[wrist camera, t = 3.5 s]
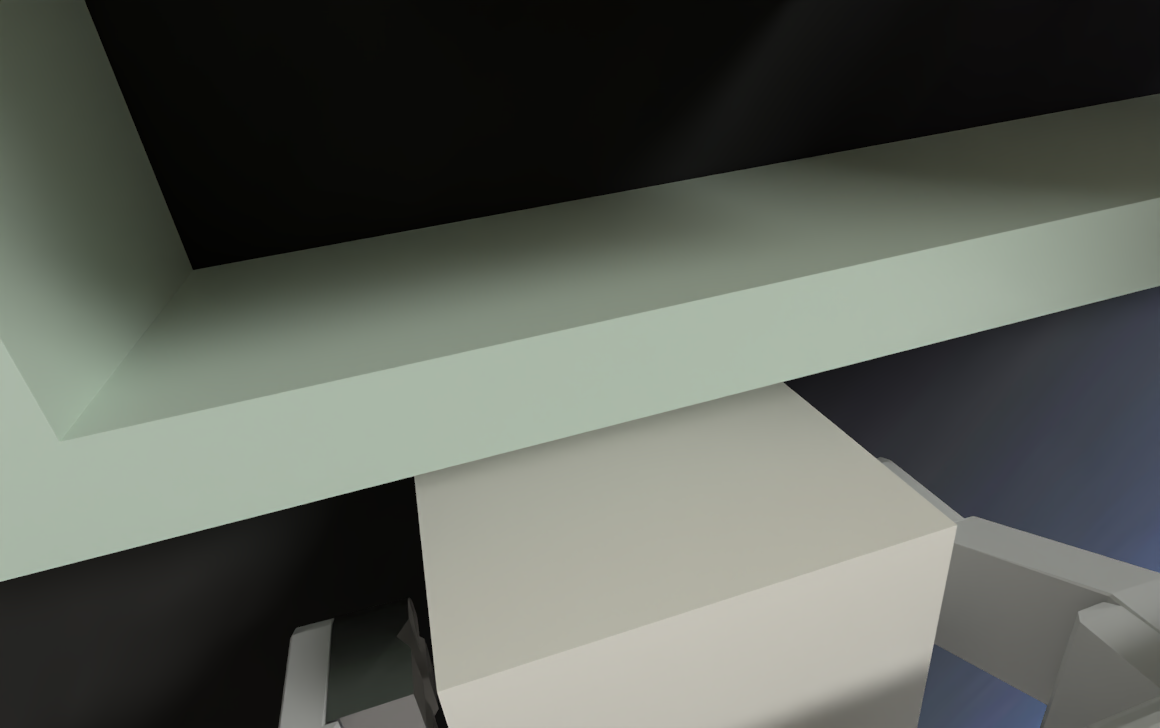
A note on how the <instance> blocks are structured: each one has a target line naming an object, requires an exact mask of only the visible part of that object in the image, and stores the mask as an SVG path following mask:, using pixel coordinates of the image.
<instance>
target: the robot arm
mask: <svg viewBox="0 0 1160 728" xmlns="http://www.w3.org/2000/svg"><path fill="white" fill-rule="evenodd" d="M876 459H877V460H879V461H880V462H881V463H882V464H884V465H885V466H886V467H887V468H888V469H890V470H891V471H892V472H893V473H895V474H896V475H897V476H898V477H899V478H901V479H902V480H903V481H904V482H906V483H907V484H908V485H909V486H910V487H912V488H913V489H914V490H915V491H917V492H918V493H919V494H920V495H921V496H923V497H924V498H925V499H926V500H928V501H929V502H930V503H931V504H932V505H934V506H935V507H936V508H937V509H939V510H940V511H941V512H942V513H943V514H945V515H946V516H947V517H948V518H949V519H951V520H952V521H953V522H954V523H956V524H957V530H956V535H955V540H954V545H953V550H952V555H951V560H950V565H949V570H948V575H947V580H946V585H945V590H944V595H943V600H942V605H941V610H940V615H939V620H938V625H937V630H936V635H935V640H934V644H936V645H938V646H940V647H942V648H943V649H945V650H947V651H949V652H951V653H953V654H954V655H956V656H958V657H960V658H962V659H964V660H965V661H967V662H969V663H971V664H973V665H975V666H977V667H978V668H980V669H982V670H984V671H986V672H988V673H989V674H991V675H993V676H995V677H997V678H999V679H1000V680H1002V681H1004V682H1006V683H1008V684H1010V685H1011V686H1013V687H1015V688H1017V689H1019V690H1021V691H1023V692H1024V693H1026V694H1028V695H1030V696H1032V697H1034V698H1035V699H1037V700H1039V701H1041V702H1043V703H1045V704H1046V705H1047V708H1046V711H1045V714H1044V717H1043V720H1042V723H1041V726H1040V728H1160V573H1158V572H1154V571H1151V570H1148V569H1145V568H1141V567H1138V566H1135V565H1131V564H1128V563H1125V562H1122V561H1118V560H1115V559H1112V558H1109V557H1105V556H1102V555H1099V554H1096V553H1092V552H1089V551H1086V550H1082V549H1079V548H1076V547H1073V546H1069V545H1066V544H1063V543H1060V542H1056V541H1053V540H1050V539H1047V538H1043V537H1040V536H1037V535H1034V534H1030V533H1027V532H1024V531H1020V530H1017V529H1014V528H1011V527H1007V526H1004V525H1001V524H998V523H994V522H991V521H988V520H985V519H981V518H978V517H975V516H972V517H968V518H965V519H964V518H963V517H962V516H960V515H959V514H958V513H956V512H955V511H954V510H953V509H951V508H950V507H949V506H948V505H946V504H945V503H944V502H943V501H941V500H940V499H939V498H937V497H936V496H935V495H934V494H932V493H931V492H930V491H929V490H927V489H926V488H925V487H924V486H922V485H921V484H920V483H919V482H917V481H916V480H915V479H913V478H912V477H911V476H910V475H908V474H907V473H906V472H905V471H903V470H902V469H901V468H900V467H898V466H897V465H896V464H894V463H893V462H892V461H891V460H889V459H885V458H882V457H879V458H876ZM438 709H439V707H438V699H437V690H436V684H435V679H434V673H433V667H432V663H431V659H430V655H429V651H428V648H427V645H426V642H425V639H424V638H422V637H420V636H419V628H418V617H417V614H416V611H415V608H414V605H413V603H412V600H411V599H410V598H409V597H407V598H403V599H399V600H395V601H392V602H388V603H384V604H381V605H377V606H373V607H369V608H366V609H362V610H358V611H354V612H351V613H347V614H343V615H339V616H336V617H335V618H332V619H328V620H324V621H321V622H317V623H313V624H309V625H305V626H301V627H297V628H296V629H295V631H294V632H293V634H292V636H291V638H290V645H289V652H288V660H287V667H286V674H285V682H284V689H283V697H282V704H281V712H280V719H279V727H278V728H438V725H437V722H436V719H435V715H436V713H437V711H438Z"/></svg>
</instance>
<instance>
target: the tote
mask: <svg viewBox="0 0 1160 728" xmlns="http://www.w3.org/2000/svg"><path fill="white" fill-rule="evenodd" d="M1157 286H1160V94H1154V95H1149V96H1143V97H1138V98H1132V99H1127V100H1121V101H1116V102H1110V103H1105V104H1099V105H1094V106H1088V107H1083V108H1077V109H1072V110H1066V111H1061V112H1056V113H1050V114H1045V115H1039V116H1034V117H1028V118H1023V119H1017V120H1012V121H1006V122H1001V123H995V124H990V125H984V126H979V127H973V128H968V129H962V130H957V131H951V132H946V133H941V134H935V135H930V136H924V137H919V138H913V139H908V140H902V141H897V142H891V143H886V144H880V145H875V146H869V147H864V148H858V149H853V150H847V151H842V152H836V153H831V154H826V155H820V156H815V157H809V158H804V159H798V160H793V161H787V162H782V163H776V164H771V165H765V166H760V167H754V168H749V169H743V170H738V171H732V172H727V173H722V174H716V175H711V176H705V177H700V178H694V179H689V180H683V181H678V182H672V183H667V184H661V185H656V186H650V187H645V188H639V189H634V190H628V191H623V192H617V193H612V194H607V195H601V196H596V197H590V198H585V199H579V200H574V201H568V202H563V203H557V204H552V205H546V206H541V207H535V208H530V209H524V210H519V211H513V212H508V213H502V214H497V215H492V216H486V217H481V218H475V219H470V220H464V221H459V222H453V223H448V224H442V225H437V226H431V227H426V228H420V229H415V230H409V231H404V232H398V233H393V234H387V235H382V236H377V237H371V238H366V239H360V240H355V241H349V242H344V243H338V244H333V245H327V246H322V247H316V248H311V249H305V250H300V251H294V252H289V253H283V254H278V255H272V256H267V257H262V258H256V259H251V260H245V261H240V262H234V263H229V264H223V265H218V266H212V267H207V268H201V269H196V270H193V269H192V266H191V264H190V261H189V259H188V256H187V254H186V251H185V249H184V246H183V244H182V241H181V239H180V236H179V234H178V231H177V229H176V226H175V224H174V221H173V219H172V216H171V214H170V211H169V209H168V206H167V204H166V201H165V199H164V197H163V194H162V192H161V189H160V187H159V184H158V182H157V179H156V177H155V174H154V172H153V169H152V167H151V164H150V162H149V159H148V157H147V154H146V152H145V149H144V147H143V144H142V142H141V139H140V137H139V134H138V132H137V129H136V127H135V124H134V122H133V119H132V117H131V115H130V112H129V110H128V107H127V105H126V102H125V100H124V97H123V95H122V92H121V90H120V87H119V85H118V82H117V80H116V77H115V75H114V72H113V70H112V67H111V65H110V62H109V60H108V57H107V55H106V52H105V50H104V47H103V45H102V42H101V40H100V38H99V35H98V33H97V30H96V28H95V25H94V23H93V20H92V18H91V15H90V13H89V10H88V8H87V5H86V3H85V0H0V582H1V581H5V580H9V579H13V578H17V577H21V576H25V575H28V574H32V573H36V572H40V571H44V570H48V569H52V568H56V567H60V566H64V565H68V564H72V563H75V562H79V561H83V560H87V559H91V558H95V557H99V556H103V555H107V554H111V553H115V552H119V551H122V550H126V549H130V548H134V547H138V546H142V545H146V544H150V543H154V542H158V541H162V540H166V539H169V538H173V537H177V536H181V535H185V534H189V533H193V532H197V531H201V530H205V529H209V528H213V527H216V526H220V525H224V524H228V523H232V522H236V521H240V520H244V519H248V518H252V517H256V516H260V515H263V514H267V513H271V512H275V511H279V510H283V509H287V508H291V507H295V506H299V505H303V504H307V503H310V502H314V501H318V500H322V499H326V498H330V497H334V496H338V495H342V494H346V493H350V492H354V491H357V490H361V489H365V488H369V487H373V486H377V485H381V484H385V483H389V482H393V481H397V480H401V479H404V478H408V477H412V476H416V475H420V474H424V473H428V472H432V471H436V470H440V469H444V468H448V467H451V466H455V465H459V464H463V463H467V462H471V461H475V460H479V459H483V458H487V457H491V456H495V455H498V454H502V453H506V452H510V451H514V450H518V449H522V448H526V447H530V446H534V445H538V444H542V443H545V442H549V441H553V440H557V439H561V438H565V437H569V436H573V435H577V434H581V433H585V432H589V431H592V430H596V429H600V428H604V427H608V426H612V425H616V424H620V423H624V422H628V421H632V420H636V419H639V418H643V417H647V416H651V415H655V414H659V413H663V412H667V411H671V410H675V409H679V408H683V407H686V406H690V405H694V404H698V403H702V402H706V401H710V400H714V399H718V398H722V397H726V396H730V395H733V394H737V393H741V392H745V391H749V390H753V389H757V388H761V387H765V386H769V385H773V384H777V383H781V382H784V381H788V380H792V379H796V378H800V377H804V376H808V375H812V374H816V373H820V372H824V371H828V370H831V369H835V368H839V367H843V366H847V365H851V364H855V363H859V362H863V361H867V360H871V359H875V358H878V357H882V356H886V355H890V354H894V353H898V352H902V351H906V350H910V349H914V348H918V347H922V346H925V345H929V344H933V343H937V342H941V341H945V340H949V339H953V338H957V337H961V336H965V335H969V334H972V333H976V332H980V331H984V330H988V329H992V328H996V327H1000V326H1004V325H1008V324H1012V323H1016V322H1019V321H1023V320H1027V319H1031V318H1035V317H1039V316H1043V315H1047V314H1051V313H1055V312H1059V311H1063V310H1066V309H1070V308H1074V307H1078V306H1082V305H1086V304H1090V303H1094V302H1098V301H1102V300H1106V299H1110V298H1113V297H1117V296H1121V295H1125V294H1129V293H1133V292H1137V291H1141V290H1145V289H1149V288H1153V287H1157Z"/></svg>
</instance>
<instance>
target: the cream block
mask: <svg viewBox="0 0 1160 728" xmlns="http://www.w3.org/2000/svg"><path fill="white" fill-rule="evenodd" d="M414 479H415V488H416V498H417V507H418V517H419V526H420V536H421V545H422V555H423V564H424V574H425V583H426V593H427V602H428V612H429V621H430V631H431V640H432V650H433V659H434V668H435V678H436V687H437V694H438V697H439V700H440V703H441V706H442V709H443V712H444V715H445V719H446V722H447V725H448V728H917V725H918V720H919V715H920V710H921V705H922V700H923V695H924V690H925V685H926V680H927V675H928V670H929V665H930V660H931V655H932V650H933V645H934V640H935V635H936V630H937V625H938V620H939V615H940V610H941V605H942V600H943V595H944V590H945V585H946V580H947V575H948V570H949V565H950V560H951V555H952V550H953V545H954V540H955V535H956V530H957V524H956V523H954V522H953V521H952V520H951V519H949V518H948V517H947V516H946V515H945V514H943V513H942V512H941V511H940V510H939V509H937V508H936V507H935V506H934V505H932V504H931V503H930V502H929V501H928V500H926V499H925V498H924V497H923V496H921V495H920V494H919V493H918V492H917V491H915V490H914V489H913V488H912V487H910V486H909V485H908V484H907V483H906V482H904V481H903V480H902V479H901V478H899V477H898V476H897V475H896V474H895V473H893V472H892V471H891V470H890V469H888V468H887V467H886V466H885V465H884V464H882V463H881V462H880V461H879V460H877V459H876V458H875V457H874V456H873V455H871V454H870V453H869V452H868V451H866V450H865V449H864V448H863V447H862V446H860V445H859V444H858V443H857V442H855V441H854V440H853V439H852V438H851V437H849V436H848V435H847V434H846V433H844V432H843V431H842V430H841V429H840V428H838V427H837V426H836V425H835V424H833V423H832V422H831V421H830V420H829V419H827V418H826V417H825V416H824V415H822V414H821V413H820V412H819V411H818V410H816V409H815V408H814V407H813V406H812V405H810V404H809V403H808V402H807V401H805V400H804V399H803V398H802V397H801V396H799V395H798V394H797V393H796V392H794V391H793V390H792V389H791V388H790V387H788V386H787V385H786V384H785V383H783V382H781V383H777V384H773V385H769V386H765V387H761V388H757V389H753V390H749V391H745V392H741V393H737V394H733V395H730V396H726V397H722V398H718V399H714V400H710V401H706V402H702V403H698V404H694V405H690V406H686V407H683V408H679V409H675V410H671V411H667V412H663V413H659V414H655V415H651V416H647V417H643V418H639V419H636V420H632V421H628V422H624V423H620V424H616V425H612V426H608V427H604V428H600V429H596V430H592V431H589V432H585V433H581V434H577V435H573V436H569V437H565V438H561V439H557V440H553V441H549V442H545V443H542V444H538V445H534V446H530V447H526V448H522V449H518V450H514V451H510V452H506V453H502V454H498V455H495V456H491V457H487V458H483V459H479V460H475V461H471V462H467V463H463V464H459V465H455V466H451V467H448V468H444V469H440V470H436V471H432V472H428V473H424V474H420V475H416V476H414Z"/></svg>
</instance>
